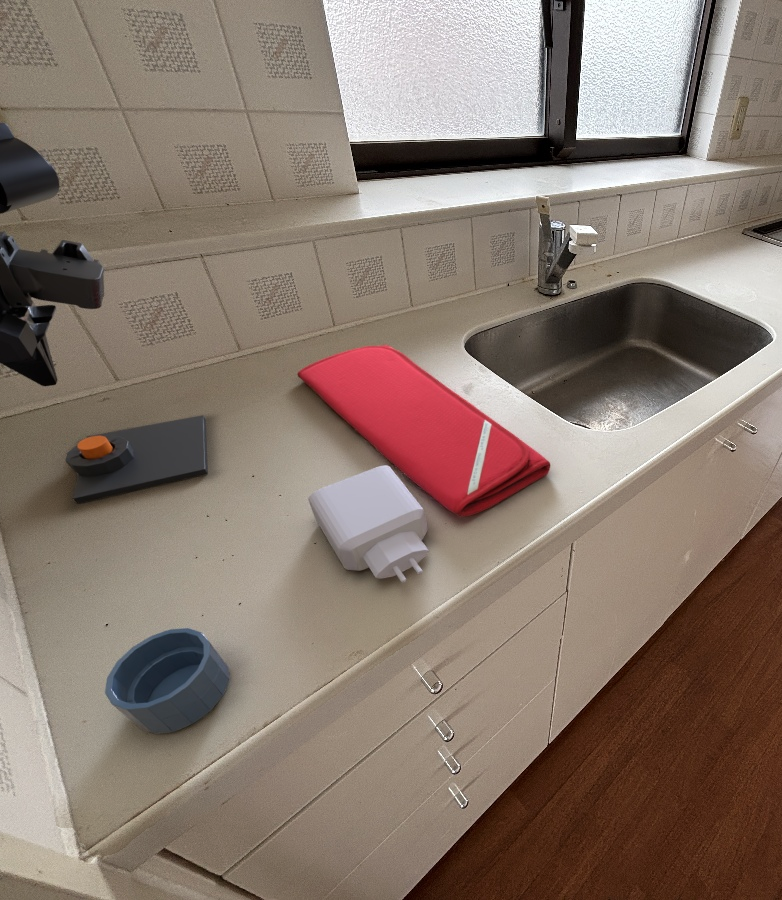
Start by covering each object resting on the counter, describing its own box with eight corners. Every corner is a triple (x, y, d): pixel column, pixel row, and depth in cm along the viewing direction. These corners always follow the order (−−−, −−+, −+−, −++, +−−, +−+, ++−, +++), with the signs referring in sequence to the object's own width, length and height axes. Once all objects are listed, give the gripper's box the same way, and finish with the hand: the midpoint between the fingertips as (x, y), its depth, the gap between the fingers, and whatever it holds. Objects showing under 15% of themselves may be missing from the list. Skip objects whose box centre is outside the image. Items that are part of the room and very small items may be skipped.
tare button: (82, 462, 57) (75, 451, 56) (85, 448, 59) (78, 438, 58) (112, 456, 58) (105, 446, 57) (114, 443, 60) (107, 433, 59)
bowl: (134, 752, 38) (100, 725, 35) (140, 679, 42) (109, 649, 39) (233, 710, 41) (210, 682, 38) (229, 646, 45) (208, 616, 42)
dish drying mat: (392, 352, 87) (388, 333, 85) (553, 472, 68) (554, 451, 66) (298, 382, 77) (291, 361, 75) (456, 531, 58) (454, 509, 56)
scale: (70, 505, 55) (57, 489, 53) (84, 442, 62) (73, 427, 61) (207, 474, 61) (199, 459, 59) (206, 420, 68) (198, 405, 66)
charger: (371, 615, 49) (316, 522, 57) (455, 569, 54) (394, 490, 62) (362, 587, 46) (305, 493, 54) (452, 541, 51) (389, 461, 59)
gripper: (52, 260, 40) (142, 415, 50) (83, 198, 52) (151, 334, 62) (-160, 272, 35) (-14, 442, 45) (-73, 200, 47) (28, 348, 57)
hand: (50, 384), depth 52 cm, fingers closed
